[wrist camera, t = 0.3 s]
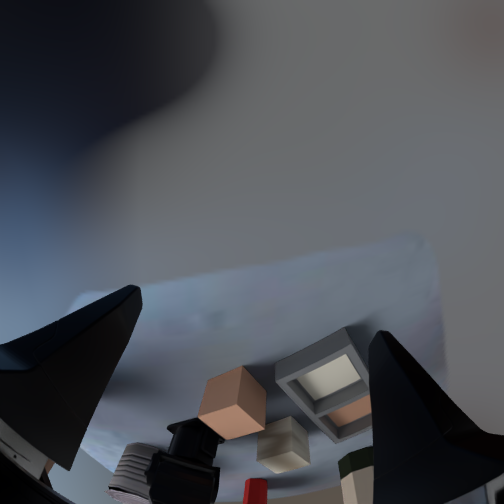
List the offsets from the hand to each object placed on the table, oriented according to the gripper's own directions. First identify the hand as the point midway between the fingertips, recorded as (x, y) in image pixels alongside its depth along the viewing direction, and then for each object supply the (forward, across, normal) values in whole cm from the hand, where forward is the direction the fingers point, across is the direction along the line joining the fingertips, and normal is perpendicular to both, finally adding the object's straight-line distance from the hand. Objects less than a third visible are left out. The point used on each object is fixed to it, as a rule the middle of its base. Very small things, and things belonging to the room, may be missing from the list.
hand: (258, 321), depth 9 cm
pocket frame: (+12, -12, +20) cm, 26 cm away
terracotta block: (+11, 0, +22) cm, 24 cm away
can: (+5, +13, +48) cm, 50 cm away
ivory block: (+10, -7, +30) cm, 32 cm away
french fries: (+5, -7, +51) cm, 52 cm away
